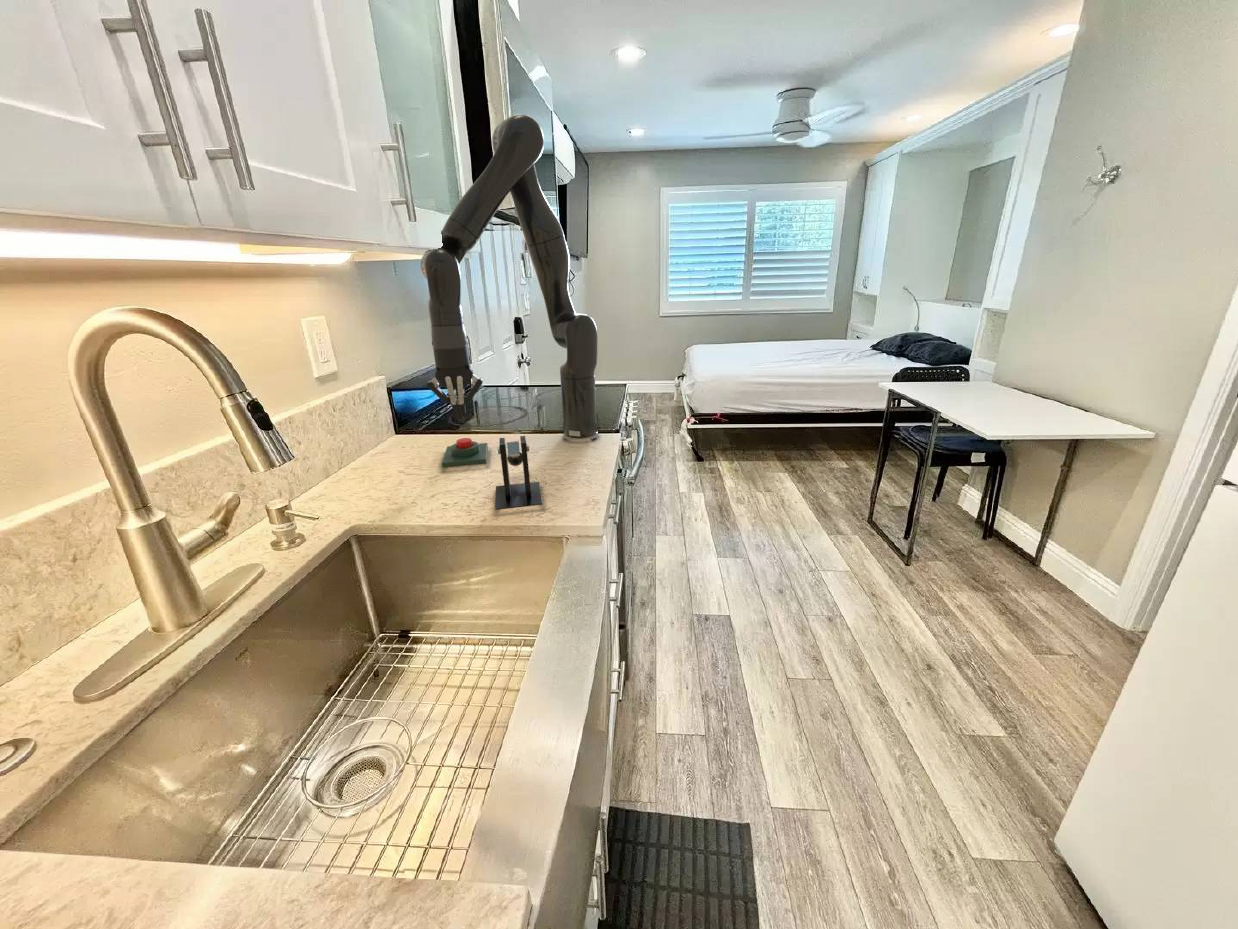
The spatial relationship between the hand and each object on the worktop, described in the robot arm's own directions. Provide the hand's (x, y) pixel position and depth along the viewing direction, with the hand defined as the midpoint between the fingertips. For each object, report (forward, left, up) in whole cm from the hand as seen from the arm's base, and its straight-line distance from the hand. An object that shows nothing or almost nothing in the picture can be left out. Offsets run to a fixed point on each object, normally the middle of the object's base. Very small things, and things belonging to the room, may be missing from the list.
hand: (460, 418), depth 117 cm
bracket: (+26, +12, -11) cm, 31 cm away
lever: (+22, +12, -4) cm, 25 cm away
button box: (0, 0, -11) cm, 11 cm away
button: (0, 0, -7) cm, 7 cm away
